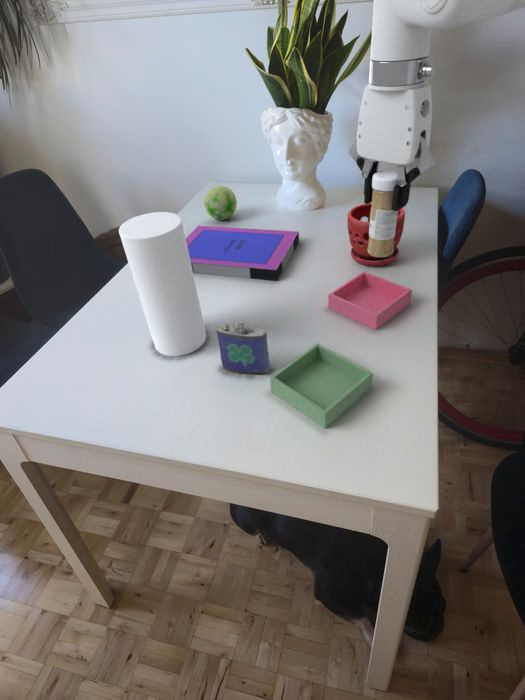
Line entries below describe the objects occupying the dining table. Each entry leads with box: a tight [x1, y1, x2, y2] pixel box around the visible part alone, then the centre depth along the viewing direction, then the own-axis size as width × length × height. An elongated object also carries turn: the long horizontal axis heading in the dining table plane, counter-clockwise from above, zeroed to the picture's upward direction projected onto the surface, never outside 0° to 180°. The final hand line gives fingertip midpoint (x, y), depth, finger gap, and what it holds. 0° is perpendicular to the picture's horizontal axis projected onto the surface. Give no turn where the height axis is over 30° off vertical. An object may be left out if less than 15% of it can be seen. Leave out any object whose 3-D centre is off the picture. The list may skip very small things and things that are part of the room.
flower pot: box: [347, 202, 406, 267], centre depth 106 cm, size 13×13×12 cm
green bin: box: [269, 342, 374, 429], centre depth 74 cm, size 12×12×4 cm
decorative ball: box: [203, 185, 238, 221], centre depth 133 cm, size 10×10×10 cm
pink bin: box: [327, 271, 413, 331], centre depth 92 cm, size 12×12×4 cm
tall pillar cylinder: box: [118, 211, 207, 357], centre depth 82 cm, size 11×11×25 cm
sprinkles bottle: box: [367, 169, 398, 257], centre depth 72 cm, size 5×5×14 cm
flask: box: [216, 319, 271, 376], centre depth 78 cm, size 9×3×11 cm, turn 74°
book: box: [185, 225, 300, 282], centre depth 115 cm, size 21×3×30 cm
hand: (385, 203), depth 71 cm, fingers closed on sprinkles bottle, 4 cm apart
